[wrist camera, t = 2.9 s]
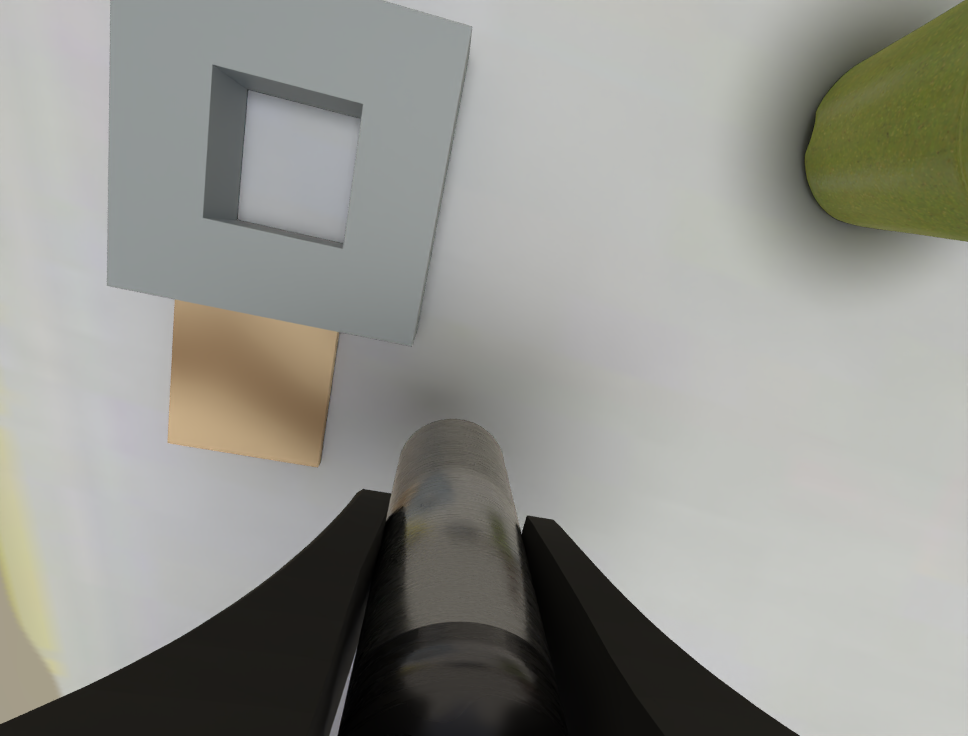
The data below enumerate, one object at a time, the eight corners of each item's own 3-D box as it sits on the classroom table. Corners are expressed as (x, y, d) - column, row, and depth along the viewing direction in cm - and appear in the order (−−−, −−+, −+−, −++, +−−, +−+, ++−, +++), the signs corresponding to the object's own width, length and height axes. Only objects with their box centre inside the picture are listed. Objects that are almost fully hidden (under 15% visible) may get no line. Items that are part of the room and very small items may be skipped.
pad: (320, 463, 20) (317, 467, 20) (173, 438, 19) (167, 442, 19) (339, 328, 19) (337, 331, 18) (180, 297, 18) (174, 298, 18)
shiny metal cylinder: (490, 521, 14) (541, 877, 6) (390, 505, 14) (311, 863, 6) (515, 429, 13) (607, 707, 5) (409, 409, 13) (347, 678, 5)
